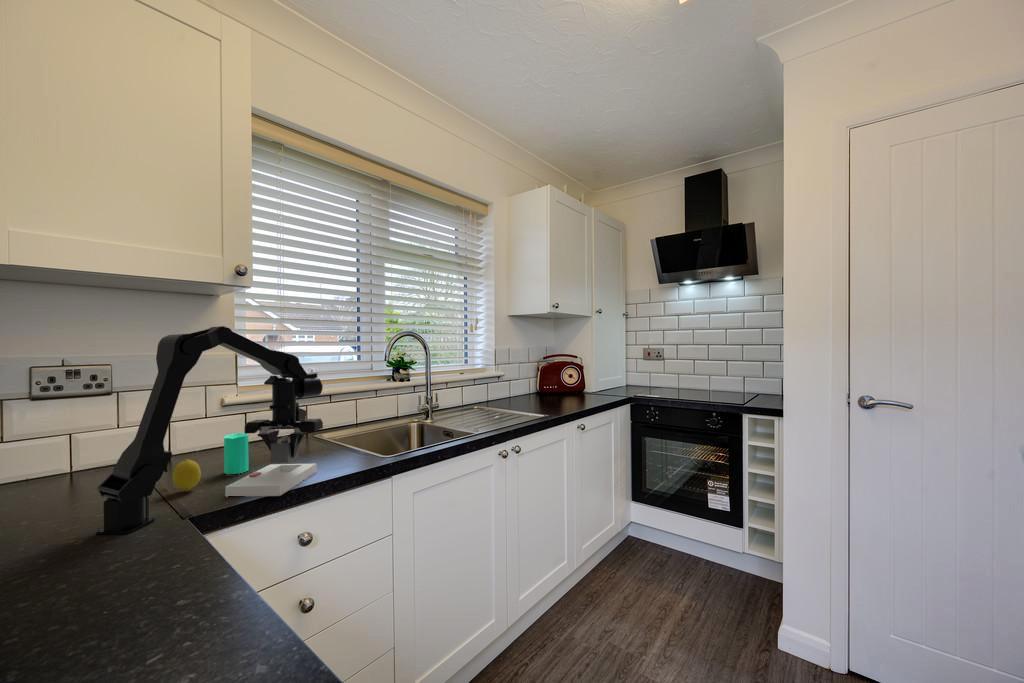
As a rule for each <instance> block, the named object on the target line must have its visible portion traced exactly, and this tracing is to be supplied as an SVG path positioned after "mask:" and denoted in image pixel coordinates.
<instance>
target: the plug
mask: <svg viewBox="0 0 1024 683" xmlns="http://www.w3.org/2000/svg"><path fill="white" fill-rule="evenodd" d="M298 457H299V449H298V450H297V453H296V456H295V457H294V458H292V455H291V445H290V438H289V436H287V435H284V436H281V438H280V439H278V441H276V442H274V443H271V452H270V464H271V463H273V464H275V463H289V462H292V461H293V460H295V459H297V458H298Z"/></svg>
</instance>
